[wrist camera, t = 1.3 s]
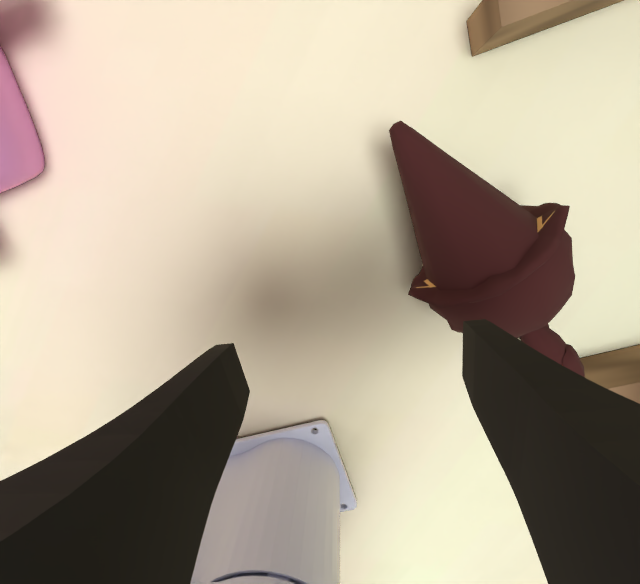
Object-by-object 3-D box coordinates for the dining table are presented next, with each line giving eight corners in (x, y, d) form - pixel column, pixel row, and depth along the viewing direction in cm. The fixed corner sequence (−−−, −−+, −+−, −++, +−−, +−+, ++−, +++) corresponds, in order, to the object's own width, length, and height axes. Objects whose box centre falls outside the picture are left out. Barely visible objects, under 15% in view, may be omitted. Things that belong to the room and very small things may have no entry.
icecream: (308, 201, 12) (501, 439, 16) (511, 33, 9) (687, 389, 13) (336, 167, 18) (473, 349, 22) (464, 59, 15) (596, 298, 19)
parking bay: (525, 391, 21) (554, 422, 18) (466, 21, 15) (495, -18, 12) (726, 347, 19) (793, 374, 16) (744, -87, 14) (851, -160, 11)
